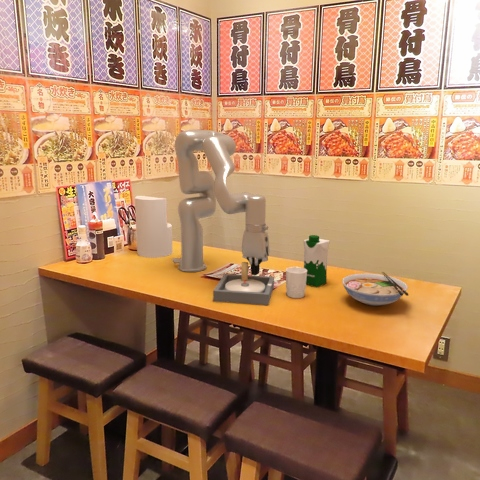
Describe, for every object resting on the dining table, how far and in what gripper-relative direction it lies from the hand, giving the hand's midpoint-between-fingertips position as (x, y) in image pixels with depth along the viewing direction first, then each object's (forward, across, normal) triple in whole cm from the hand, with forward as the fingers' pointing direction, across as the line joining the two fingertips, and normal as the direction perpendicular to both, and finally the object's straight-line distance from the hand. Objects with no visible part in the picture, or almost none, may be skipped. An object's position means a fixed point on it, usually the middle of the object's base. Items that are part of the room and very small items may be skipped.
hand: (255, 274), depth 177 cm
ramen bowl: (+7, -43, -11) cm, 45 cm away
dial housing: (+6, +1, +6) cm, 9 cm away
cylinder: (+5, +68, -18) cm, 70 cm away
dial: (+5, +1, +6) cm, 8 cm away
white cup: (+6, -16, -2) cm, 18 cm away
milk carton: (+6, -17, -19) cm, 26 cm away
